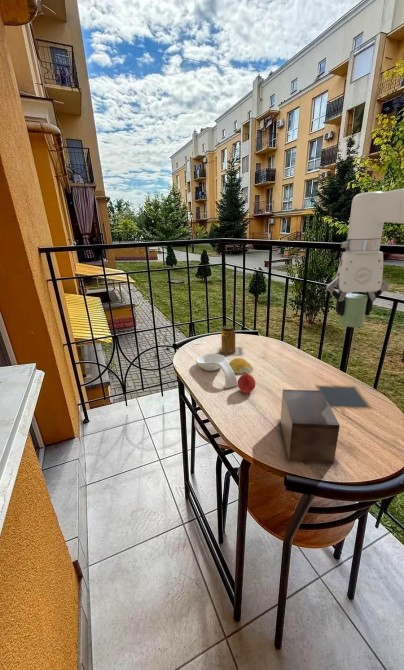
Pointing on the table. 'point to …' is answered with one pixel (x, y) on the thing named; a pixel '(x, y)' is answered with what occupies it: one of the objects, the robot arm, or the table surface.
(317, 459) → the brown block
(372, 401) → the table surface
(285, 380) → the table surface
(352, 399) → the mat
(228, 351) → the condiment
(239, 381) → the onion
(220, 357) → the spoon rest
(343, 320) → the tea tin
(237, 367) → the bread roll
